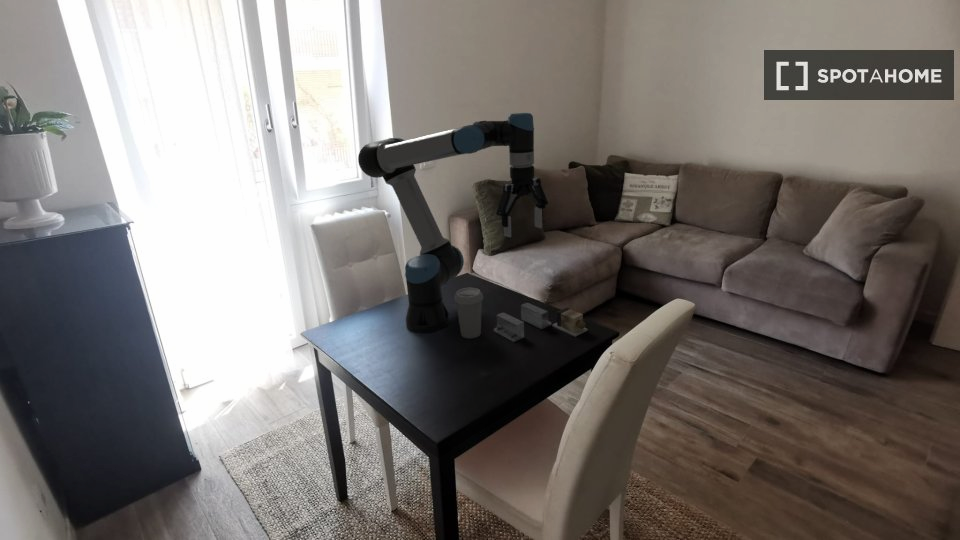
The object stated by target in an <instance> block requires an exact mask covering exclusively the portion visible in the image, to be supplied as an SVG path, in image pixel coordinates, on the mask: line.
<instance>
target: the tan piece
mask: <svg viewBox="0 0 960 540" xmlns="http://www.w3.org/2000/svg"><path fill="white" fill-rule="evenodd" d="M583 316H584V314H583V313H581V312H577V311H575V310H573V309H571V308H569V307H565V308H563V309H560V310H559V311H556V323H557V326H559V327H562V328H564V329H566V330H569V331H571V332H573V333H574V332H576V331H578V330H580V329H583V328H586V322H585V321H583V320H584V317H583Z"/></svg>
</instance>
